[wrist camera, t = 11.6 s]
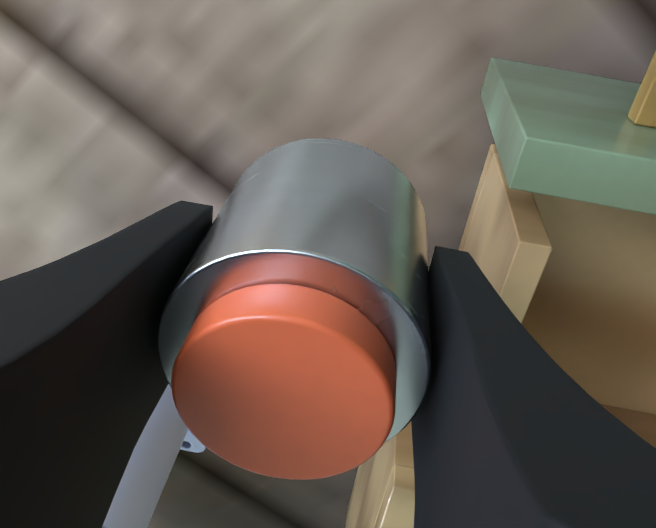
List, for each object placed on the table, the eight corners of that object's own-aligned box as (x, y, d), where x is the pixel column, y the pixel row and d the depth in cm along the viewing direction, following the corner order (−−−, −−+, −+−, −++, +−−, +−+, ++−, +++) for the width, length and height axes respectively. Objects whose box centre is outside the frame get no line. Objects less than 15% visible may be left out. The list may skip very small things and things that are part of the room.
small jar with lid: (224, 294, 14) (140, 474, 10) (232, 119, 11) (126, 255, 7) (404, 327, 14) (398, 524, 9) (449, 156, 11) (468, 318, 7)
